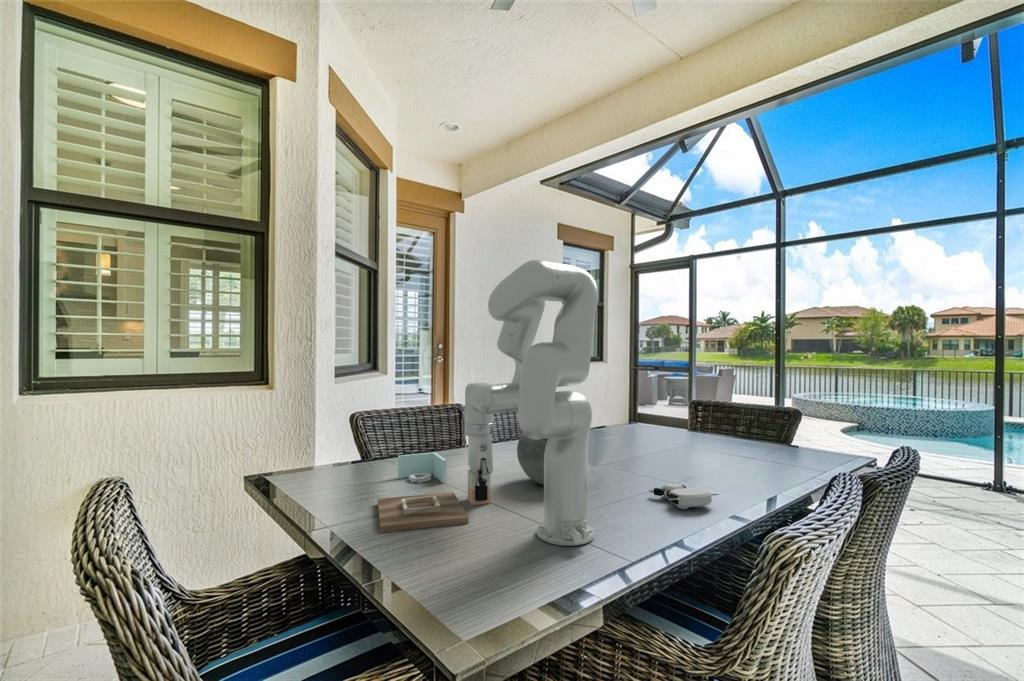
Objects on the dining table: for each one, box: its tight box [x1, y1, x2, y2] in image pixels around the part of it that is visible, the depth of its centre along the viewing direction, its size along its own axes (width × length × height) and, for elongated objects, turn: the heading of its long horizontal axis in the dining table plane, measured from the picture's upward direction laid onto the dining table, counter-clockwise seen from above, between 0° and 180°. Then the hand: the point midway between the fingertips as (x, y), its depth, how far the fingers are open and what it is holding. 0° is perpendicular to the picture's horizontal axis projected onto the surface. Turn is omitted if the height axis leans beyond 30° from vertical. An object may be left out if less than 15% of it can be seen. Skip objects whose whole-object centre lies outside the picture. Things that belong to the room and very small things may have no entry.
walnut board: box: [377, 491, 469, 534], centre depth 120 cm, size 20×20×3 cm
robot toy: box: [648, 483, 720, 510], centre depth 128 cm, size 12×4×15 cm
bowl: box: [516, 432, 548, 486], centre depth 146 cm, size 21×21×15 cm
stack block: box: [467, 469, 491, 506], centre depth 129 cm, size 5×5×8 cm
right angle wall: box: [397, 451, 448, 484], centre depth 149 cm, size 12×12×8 cm
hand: (478, 496), depth 129 cm, fingers closed on stack block, 5 cm apart
